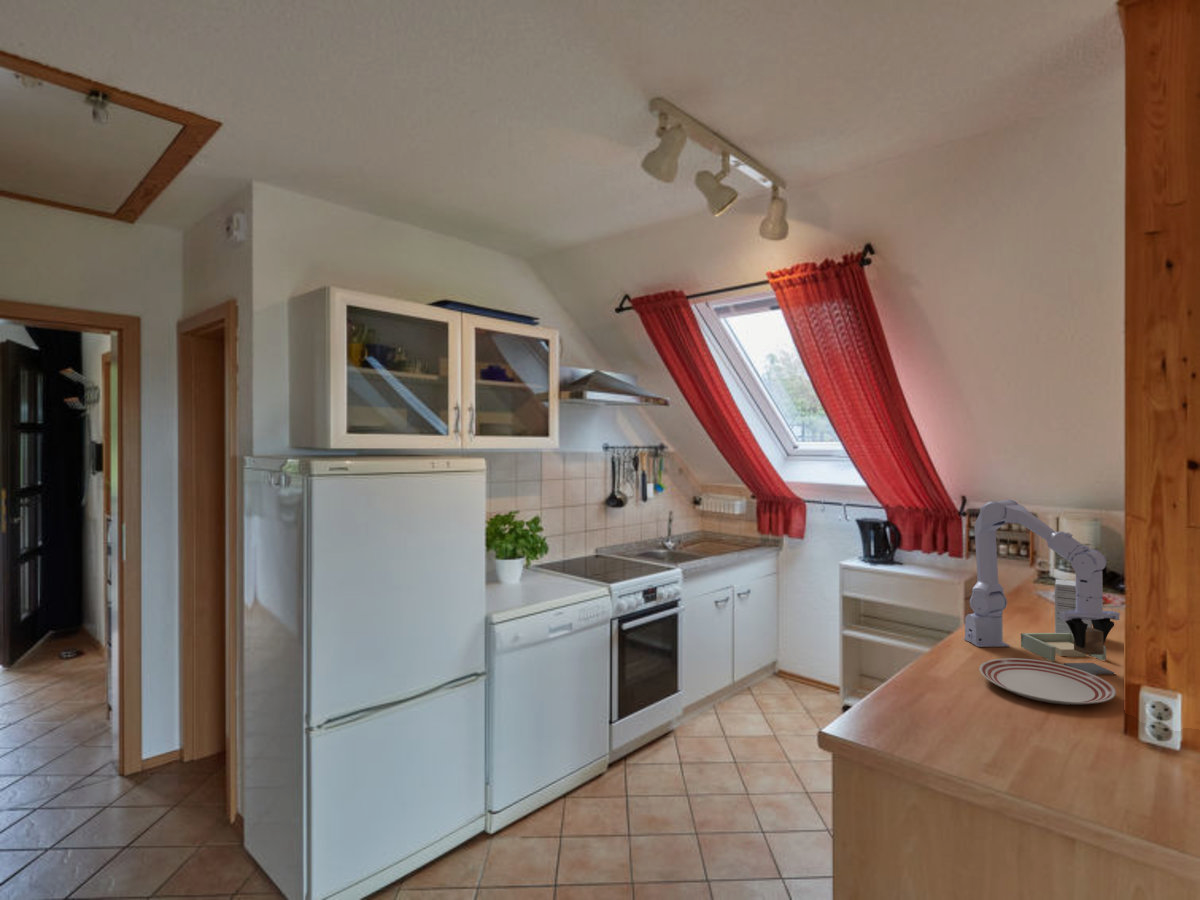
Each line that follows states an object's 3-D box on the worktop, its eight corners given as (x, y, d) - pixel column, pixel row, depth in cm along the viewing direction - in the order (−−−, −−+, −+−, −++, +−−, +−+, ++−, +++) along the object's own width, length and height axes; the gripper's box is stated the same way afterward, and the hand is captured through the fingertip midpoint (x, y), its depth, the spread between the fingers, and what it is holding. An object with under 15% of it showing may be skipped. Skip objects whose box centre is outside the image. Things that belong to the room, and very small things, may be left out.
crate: (1051, 661, 175) (1051, 647, 175) (1021, 646, 188) (1020, 633, 188) (1106, 661, 174) (1106, 646, 174) (1071, 646, 187) (1071, 632, 187)
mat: (1085, 675, 164) (1085, 673, 164) (1063, 664, 172) (1063, 663, 172) (1116, 675, 164) (1116, 673, 164) (1093, 664, 172) (1093, 662, 172)
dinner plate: (1143, 718, 139) (1143, 703, 139) (1006, 709, 145) (1006, 694, 145) (1076, 673, 166) (1076, 661, 166) (963, 667, 172) (963, 655, 172)
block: (1086, 654, 166) (1086, 631, 166) (1074, 649, 171) (1073, 627, 171) (1103, 654, 166) (1103, 631, 166) (1090, 649, 171) (1090, 627, 171)
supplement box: (1092, 643, 190) (1091, 587, 190) (1054, 637, 196) (1054, 583, 196) (1091, 635, 198) (1091, 581, 198) (1055, 630, 203) (1055, 578, 203)
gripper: (1072, 599, 164) (1073, 651, 164) (1128, 599, 164) (1129, 651, 164) (1053, 593, 171) (1054, 643, 171) (1107, 592, 171) (1107, 642, 171)
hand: (1089, 646), depth 168 cm, fingers closed on block, 4 cm apart
